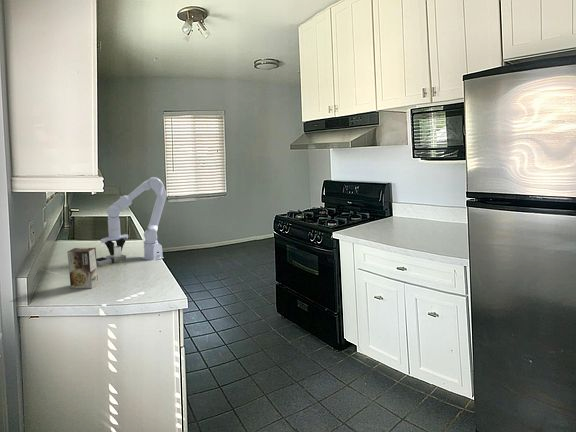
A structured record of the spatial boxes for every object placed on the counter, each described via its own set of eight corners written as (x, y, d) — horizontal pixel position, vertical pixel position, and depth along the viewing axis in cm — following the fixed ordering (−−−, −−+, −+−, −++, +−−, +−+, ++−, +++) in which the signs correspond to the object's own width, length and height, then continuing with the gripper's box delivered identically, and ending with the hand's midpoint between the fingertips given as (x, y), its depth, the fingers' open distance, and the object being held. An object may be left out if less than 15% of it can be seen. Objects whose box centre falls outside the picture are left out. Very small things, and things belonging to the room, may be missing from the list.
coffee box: (98, 283, 168) (96, 247, 166) (91, 288, 162) (89, 251, 159) (77, 283, 168) (74, 247, 165) (69, 288, 161) (66, 251, 159)
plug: (121, 259, 204) (121, 246, 203) (115, 261, 201) (114, 248, 200) (116, 258, 207) (115, 245, 206) (109, 260, 203) (108, 247, 202)
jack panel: (127, 261, 205) (127, 255, 204) (99, 268, 191) (99, 262, 191) (117, 258, 209) (117, 253, 209) (88, 265, 196) (88, 259, 195)
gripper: (121, 225, 209) (123, 250, 211) (96, 229, 197) (98, 255, 199) (130, 227, 206) (131, 251, 208) (104, 231, 193) (106, 257, 195)
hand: (115, 253), depth 203 cm, fingers closed on plug, 4 cm apart
